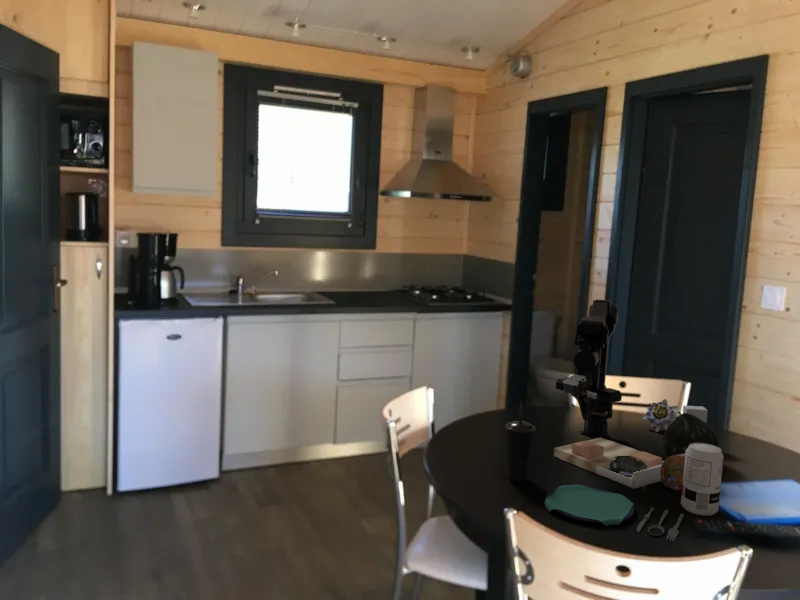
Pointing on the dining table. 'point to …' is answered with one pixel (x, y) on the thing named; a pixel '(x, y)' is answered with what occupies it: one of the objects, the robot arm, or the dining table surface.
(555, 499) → the cutlery set
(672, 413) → the passion flower
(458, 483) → the dining table surface
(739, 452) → the dining table surface
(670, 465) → the snack packet
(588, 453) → the near tile
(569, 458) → the board
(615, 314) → the robot arm
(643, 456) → the far tile
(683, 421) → the squash
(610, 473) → the tray
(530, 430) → the drinking cup
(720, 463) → the supplement can
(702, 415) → the skincare box
